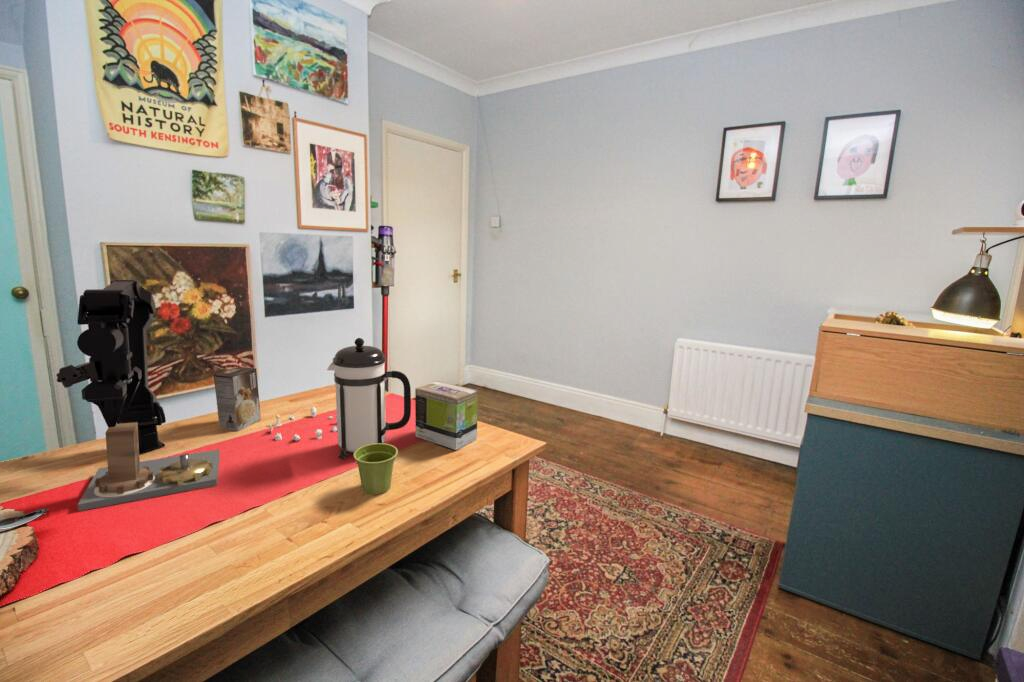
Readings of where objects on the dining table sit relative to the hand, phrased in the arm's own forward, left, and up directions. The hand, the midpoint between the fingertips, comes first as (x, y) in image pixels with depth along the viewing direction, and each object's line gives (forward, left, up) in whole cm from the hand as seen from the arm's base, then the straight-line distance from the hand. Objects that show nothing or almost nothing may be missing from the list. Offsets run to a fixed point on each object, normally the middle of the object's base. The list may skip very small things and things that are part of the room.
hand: (117, 420), depth 100 cm
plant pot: (+47, +29, -14) cm, 57 cm away
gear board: (+5, +4, -14) cm, 15 cm away
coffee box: (-11, +32, -14) cm, 37 cm away
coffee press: (+30, +42, -14) cm, 53 cm away
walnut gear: (+5, -2, -12) cm, 13 cm away
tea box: (+43, +59, -14) cm, 74 cm away
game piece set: (+6, +41, -15) cm, 44 cm away
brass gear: (+10, +7, -13) cm, 18 cm away
